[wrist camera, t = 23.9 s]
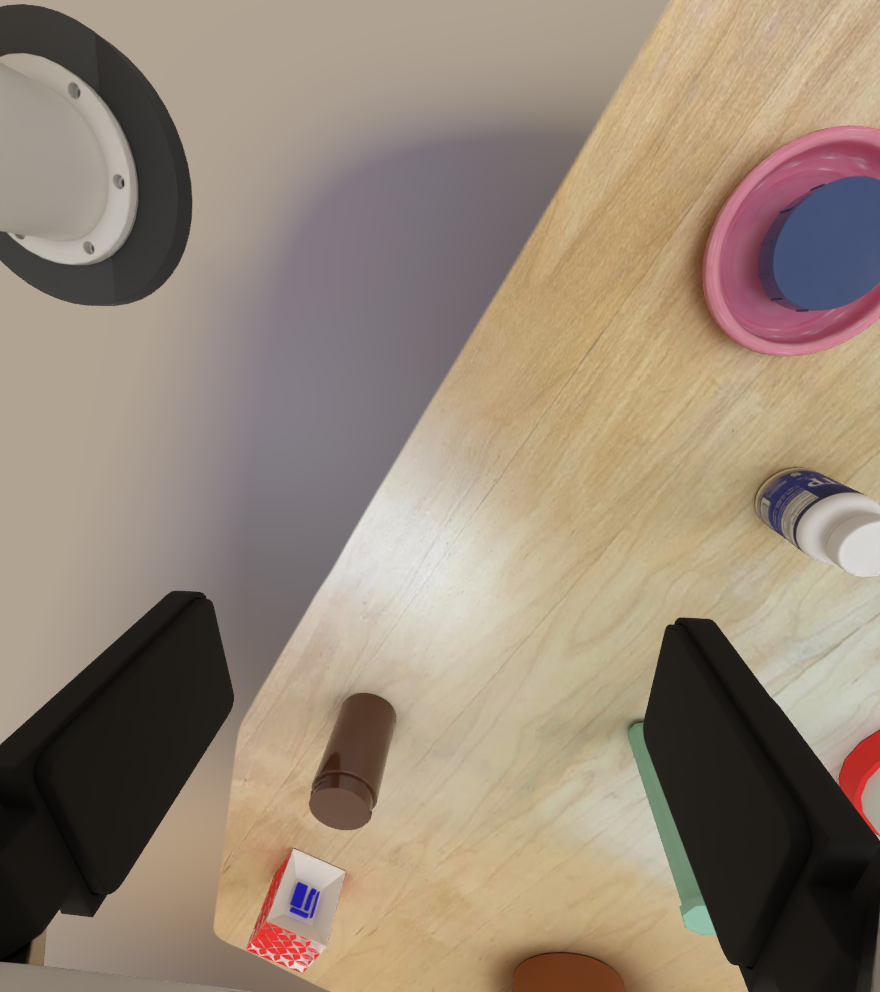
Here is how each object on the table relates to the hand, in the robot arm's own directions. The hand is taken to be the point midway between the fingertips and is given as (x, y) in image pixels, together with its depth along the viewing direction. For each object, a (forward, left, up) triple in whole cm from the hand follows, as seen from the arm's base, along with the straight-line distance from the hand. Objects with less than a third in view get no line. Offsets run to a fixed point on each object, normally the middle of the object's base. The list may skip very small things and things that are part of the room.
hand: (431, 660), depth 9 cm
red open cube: (-8, -68, -29) cm, 74 cm away
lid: (+18, +14, -24) cm, 34 cm away
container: (+24, -29, -29) cm, 48 cm away
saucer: (+18, +14, -29) cm, 37 cm away
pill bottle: (+26, -2, -29) cm, 39 cm away
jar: (-4, -36, -29) cm, 46 cm away
